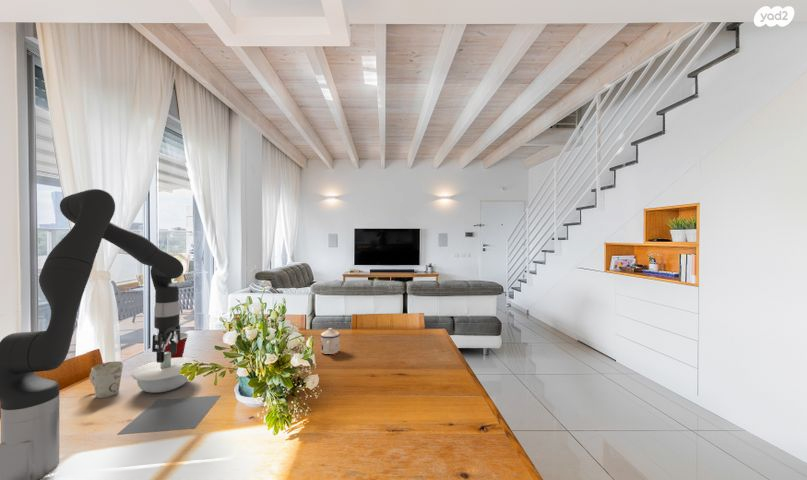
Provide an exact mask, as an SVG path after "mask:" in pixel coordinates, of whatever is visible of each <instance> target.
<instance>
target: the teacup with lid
mask: <svg viewBox="0 0 807 480" xmlns="http://www.w3.org/2000/svg"><path fill="white" fill-rule="evenodd" d="M340 335H341V334H340V332H339V331H337V330H334V329H333V327H329V328H328V329H327V330H325V331H324V332H322V333H320V353H321V352H322V353H325V354H332V353H337V352H338V351H339V352H340ZM339 352H338V353H339ZM322 353H321V354H322ZM338 353H337V354H338Z"/></svg>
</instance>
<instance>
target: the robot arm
mask: <svg viewBox="0 0 807 480" xmlns="http://www.w3.org/2000/svg"><path fill="white" fill-rule="evenodd" d="M59 210H60V213H61V214H62V215H63V217H65V218H66V219H67V220H69V221H70V222H71V223H73V224H74V225H73V227H72V228H71V229H70V230H69V231H68V233H67V234H66V235H65V236H63V238H62V239H61V240H60V241H59V242H58V243H57V244H56V245H55V247H53V248H52V250H50V252H49V253H48V255H47V257H46V259H45V261H44V263H43V266H42V268H41V271H40V274H39V276H38V284H39V286H40V287H39V288H40V289H41V292H42V293H43V295H44V297H45V299H46V301H47V303H48V305H49V308H50V318H49V323H48V326H47V328H46V330H39V331H38V330H37V331H24V332H23V331H22V332H14V333H13V332H12V333H11V334H8V335H6V336H4V337H3V338H2V339H1V340H0V480H39V479H41V478H44V477H46V476H48V475H49V474H50V473H51V472H52V471H53V470H54V469H56V468H57V466H59V464H60V384H59V382H58V381H56V380H52V379H48V378H44V377H42V376H39V375H38V374H36V373H37V372H48V371H53V370H56V369H58V368H59V367H61V365H62V364H64V361H65V360H66V358H67V355H68V353H69V351H70V347H71V343H72V339H73V334H74V330H75V326H76V325H75V324H76V320H77V315H78V312H79V308H80V305H81V302H82V298H83V295H84V294H85V289H86V287H87V284H88V282H89V279H90V276H91V273H92V270H93V267H94V263H95V259H96V257H97V255H98V254H97V253H98V252H99V249H100V245H101V243H102V240H105V241H107V242H108V243H111V244H112V245H114V246H116V247H118V248H119V249H121V250H123V252H125V253H126V254H128V255H129V256H131V257H132V258H133V259H135V260H136V261H138V262H139V263H141V264H143V265H145V266H149V267H150V277H151V281H152V284H153V285H152V286H153V287H154V291H155V295H154V297H155V300H154V301H155V303H154V308H153V309H154V312H153V313H154V318H153V319H154V321H153V323H154V329H157V330H158V333H157V334H153V335H152V343H151V344H152V345H151V348H152V349H151V352H152V353H156V361H157V363H162V362H164V350H165V347H166V346H167V345H168V343H170V345H169V352H171V354H176V353H177V343H178V340H180V332H181V325H180V316H181V315H180V301H179V299H180V298H179V297H180V293H179V292H180V291H179V290H180V289H179V287H178V285H176V284H174V283H173V280H174V279H178V278H180V277H181V276H183V273H184V265H183V264H182V262H181V261H180V260H179V259H177V258H176V257H174V256H173V255H171V254H169V253H167V252H166V251H163V250H162V249H160V248H159V247H158V246H157V245H155V244H154V243H153V242H152V241H151V240H149V239H148V238H146V237H145V236H144V235H142V234H140V233H137V232H135V231H132V230H129V229H127V228H124V227H121V226H119V225H117V224H115V223H113V222H111V220H112V219H113V217H114V214H115V211H116V201H115V199H114V197H113V195H112V194H111V193H109V191H106V190H104V189H101V188H91V189H87V190H84V191H79V192H76V193H72V194H70V195H68V196H65V197H63V198H62V199H61V200H60V203H59Z"/></svg>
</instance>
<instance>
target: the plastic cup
mask: <svg viewBox="0 0 807 480" xmlns="http://www.w3.org/2000/svg"><path fill="white" fill-rule="evenodd" d="M189 335H190V334H189V333H187V332H184V331H180V340H178V343H177V353H176V354H171V358H179V357H184V356H183V355H184V352H185V348H186V342H187V339H188V338H189ZM169 345H170V343H168V345H167V346H166V347H165V350H164V352H169Z"/></svg>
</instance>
